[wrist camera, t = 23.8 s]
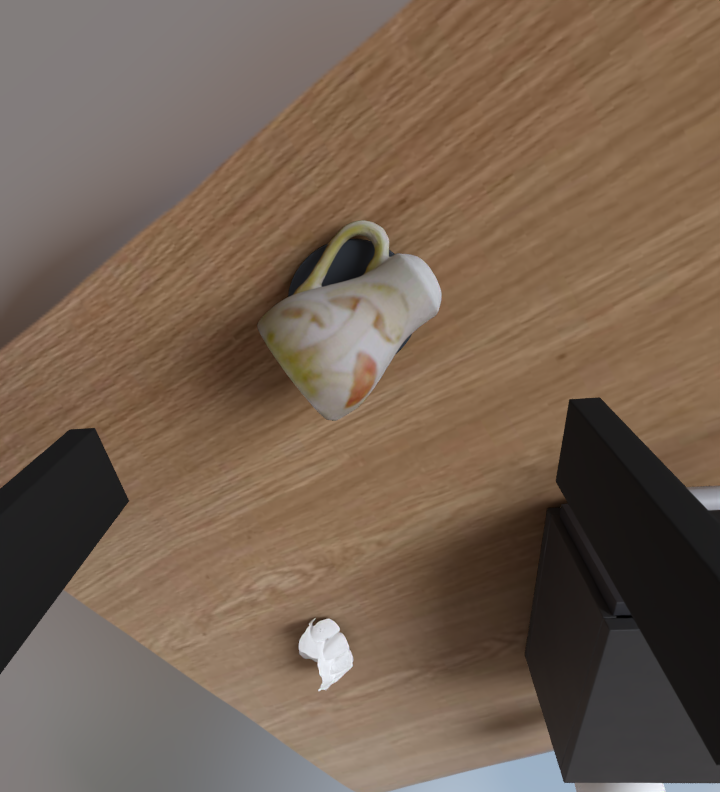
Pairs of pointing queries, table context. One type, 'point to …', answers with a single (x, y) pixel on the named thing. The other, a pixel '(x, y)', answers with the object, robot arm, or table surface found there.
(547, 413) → the table surface
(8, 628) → the robot arm
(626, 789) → the white rounded knobbed vessel
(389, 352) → the mug
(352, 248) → the coaster
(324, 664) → the tissue
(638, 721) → the cabinet
